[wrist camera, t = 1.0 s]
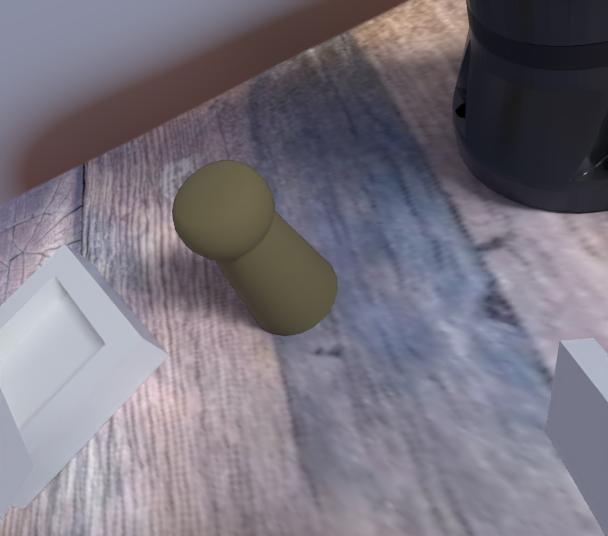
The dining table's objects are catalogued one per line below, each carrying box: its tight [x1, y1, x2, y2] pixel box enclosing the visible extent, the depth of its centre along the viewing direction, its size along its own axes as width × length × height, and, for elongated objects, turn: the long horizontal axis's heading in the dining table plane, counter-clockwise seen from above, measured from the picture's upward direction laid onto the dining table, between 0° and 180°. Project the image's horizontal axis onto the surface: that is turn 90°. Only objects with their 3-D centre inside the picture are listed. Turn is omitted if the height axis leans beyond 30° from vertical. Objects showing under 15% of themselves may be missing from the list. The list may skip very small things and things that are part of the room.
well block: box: [0, 243, 169, 509], centre depth 37 cm, size 13×13×3 cm
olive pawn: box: [172, 160, 337, 336], centre depth 30 cm, size 6×6×11 cm
